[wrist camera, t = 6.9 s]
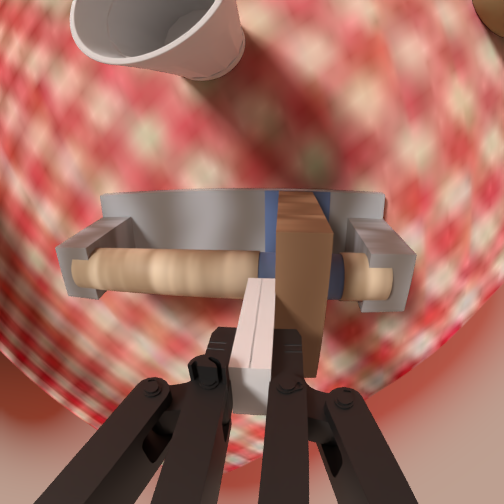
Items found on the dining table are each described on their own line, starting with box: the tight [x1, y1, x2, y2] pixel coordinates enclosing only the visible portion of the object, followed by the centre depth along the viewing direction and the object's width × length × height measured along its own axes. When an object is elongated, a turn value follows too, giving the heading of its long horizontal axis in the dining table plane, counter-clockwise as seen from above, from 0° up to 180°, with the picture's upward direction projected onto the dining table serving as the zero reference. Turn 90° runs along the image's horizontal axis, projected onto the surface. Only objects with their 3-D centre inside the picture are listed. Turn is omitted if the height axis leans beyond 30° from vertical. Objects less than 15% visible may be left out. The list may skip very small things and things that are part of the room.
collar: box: [275, 191, 334, 378], centre depth 19 cm, size 2×8×10 cm, turn 1°
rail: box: [55, 188, 417, 312], centre depth 22 cm, size 24×8×8 cm, turn 91°
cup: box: [70, 0, 245, 81], centre depth 14 cm, size 8×8×12 cm
